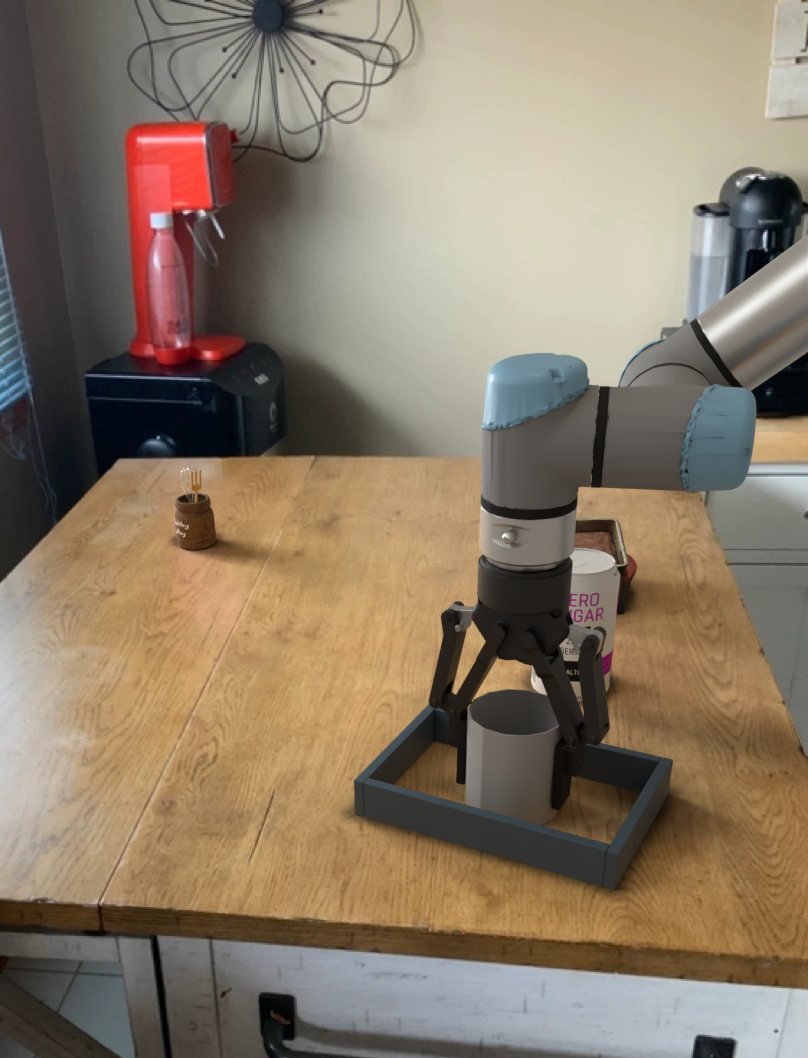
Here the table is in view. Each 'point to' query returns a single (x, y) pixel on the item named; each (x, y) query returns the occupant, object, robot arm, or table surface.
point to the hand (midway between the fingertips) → (512, 788)
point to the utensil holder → (194, 518)
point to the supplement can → (590, 610)
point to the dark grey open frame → (507, 833)
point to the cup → (512, 754)
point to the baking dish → (607, 549)
